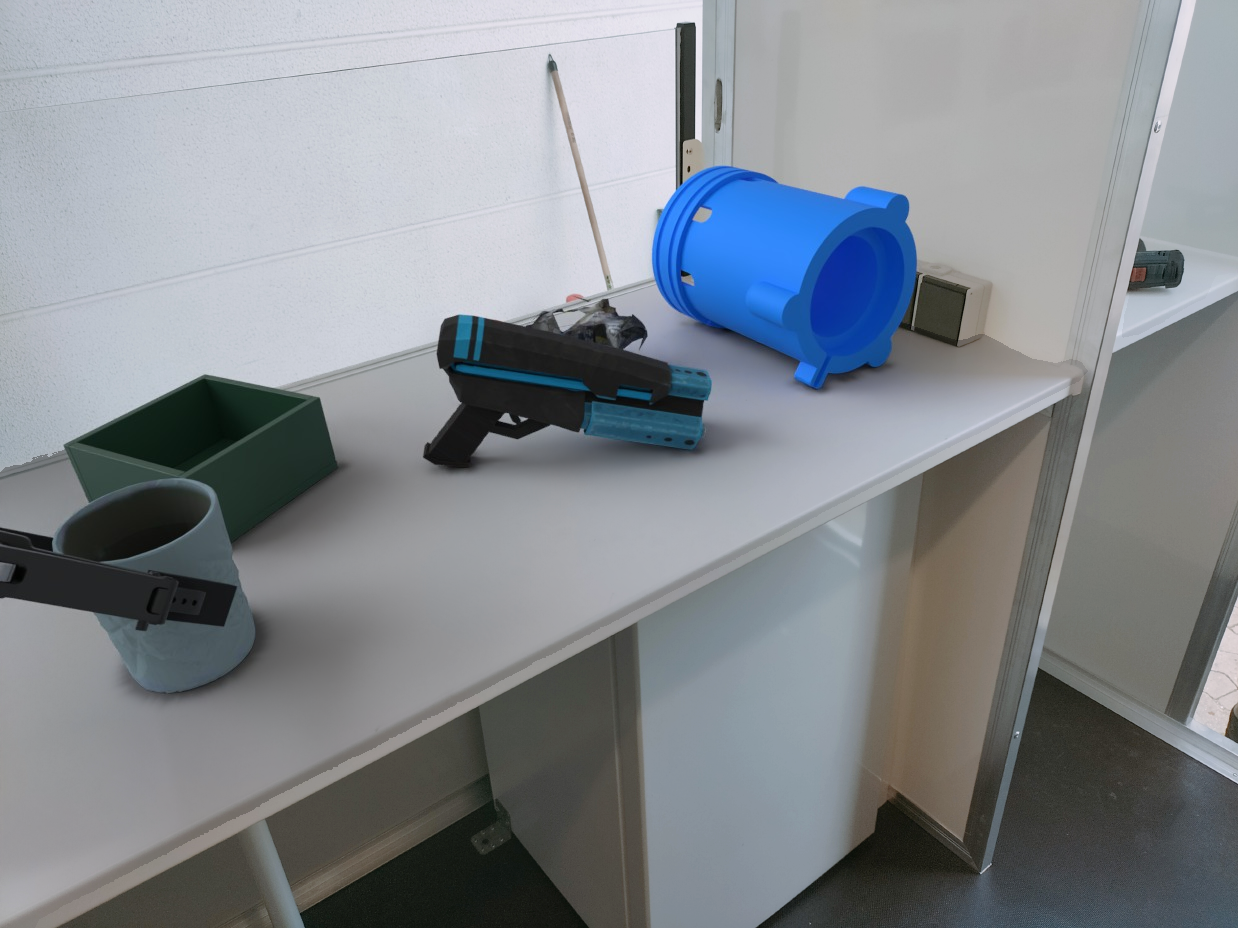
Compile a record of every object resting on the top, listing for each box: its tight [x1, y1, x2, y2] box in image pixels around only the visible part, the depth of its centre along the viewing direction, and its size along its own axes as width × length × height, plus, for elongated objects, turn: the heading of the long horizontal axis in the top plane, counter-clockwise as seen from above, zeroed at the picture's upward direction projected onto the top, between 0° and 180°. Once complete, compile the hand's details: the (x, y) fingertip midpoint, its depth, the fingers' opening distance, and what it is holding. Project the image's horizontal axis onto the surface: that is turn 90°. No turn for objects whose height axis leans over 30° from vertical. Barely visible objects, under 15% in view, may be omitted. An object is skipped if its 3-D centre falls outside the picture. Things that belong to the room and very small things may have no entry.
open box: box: [62, 373, 339, 544], centre depth 80 cm, size 16×16×8 cm
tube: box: [651, 165, 918, 390], centre depth 100 cm, size 25×22×19 cm
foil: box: [524, 295, 649, 351], centre depth 99 cm, size 12×11×15 cm
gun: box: [422, 314, 713, 468], centre depth 83 cm, size 8×26×15 cm, turn 97°
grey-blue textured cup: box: [52, 478, 256, 694], centre depth 60 cm, size 10×10×12 cm
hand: (152, 583), depth 59 cm, fingers open, 13 cm apart
